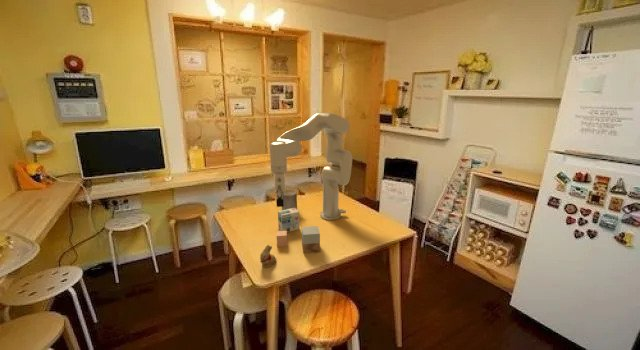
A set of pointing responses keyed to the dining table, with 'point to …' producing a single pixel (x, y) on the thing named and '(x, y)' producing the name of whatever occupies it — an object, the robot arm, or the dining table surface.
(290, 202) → the pillar candle
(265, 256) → the chocolate bunny
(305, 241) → the tower top
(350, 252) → the dining table surface
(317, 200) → the dining table surface
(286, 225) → the light bulb box
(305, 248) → the tower base
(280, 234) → the block
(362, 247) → the dining table surface
